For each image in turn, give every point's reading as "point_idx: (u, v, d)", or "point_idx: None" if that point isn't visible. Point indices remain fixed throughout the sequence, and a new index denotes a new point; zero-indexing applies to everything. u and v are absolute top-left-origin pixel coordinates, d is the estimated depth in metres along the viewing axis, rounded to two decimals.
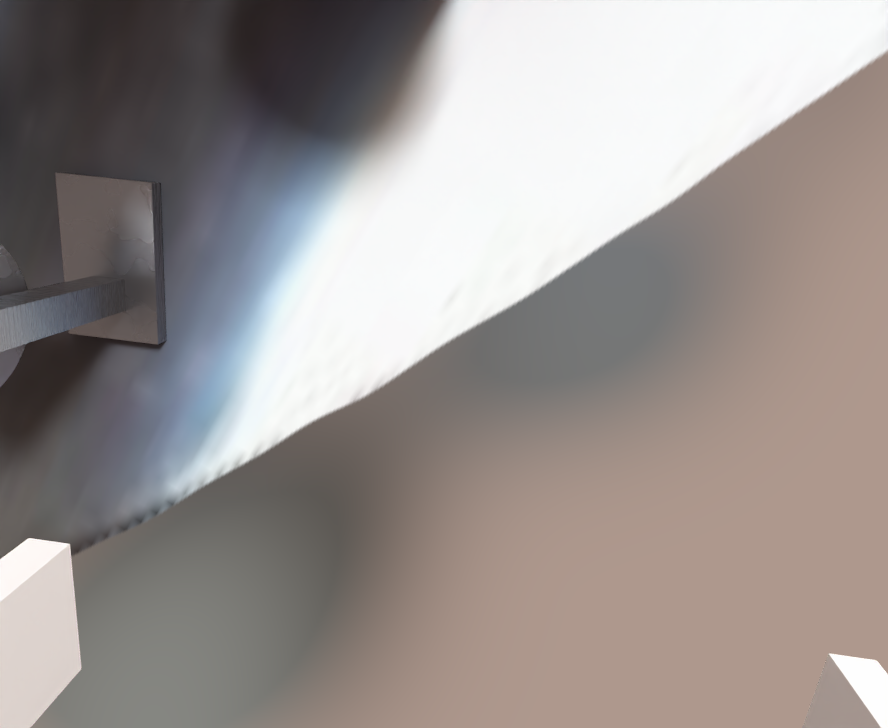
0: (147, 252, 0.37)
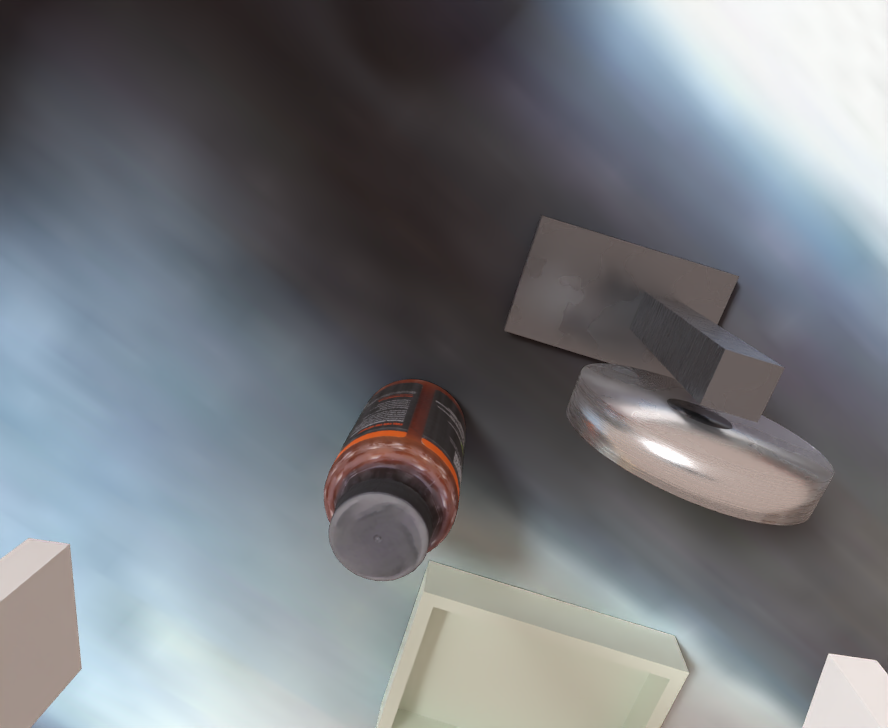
0: (620, 249, 0.29)
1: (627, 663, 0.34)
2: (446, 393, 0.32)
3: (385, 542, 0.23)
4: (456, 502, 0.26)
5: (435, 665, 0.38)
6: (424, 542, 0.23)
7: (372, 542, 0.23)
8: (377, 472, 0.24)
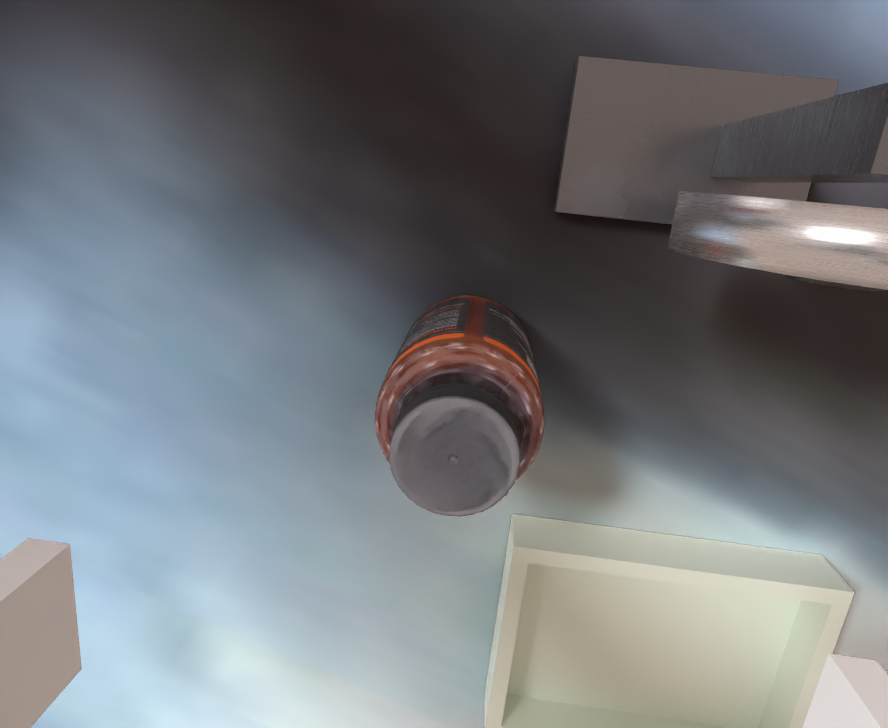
0: (683, 78, 0.24)
1: (775, 593, 0.28)
2: (499, 304, 0.27)
3: (463, 461, 0.18)
4: (542, 407, 0.20)
5: (541, 637, 0.32)
6: (514, 453, 0.18)
7: (447, 465, 0.18)
8: (437, 380, 0.19)
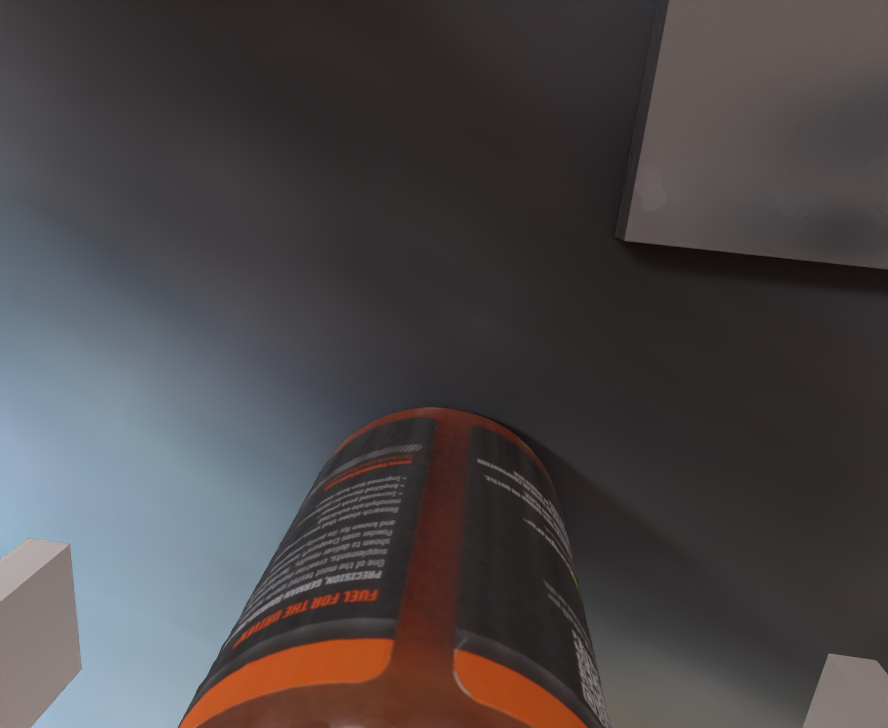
0: None
1: None
2: (499, 429, 0.13)
3: None
4: None
5: None
6: None
7: None
8: None
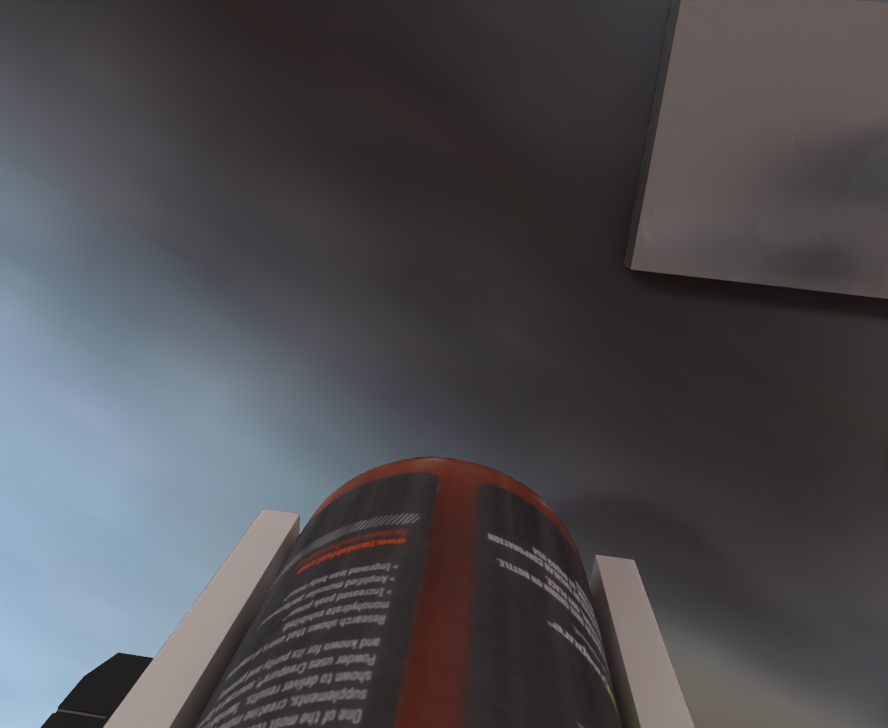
0: (882, 26, 0.12)
1: None
2: (513, 486, 0.11)
3: None
4: None
5: None
6: None
7: None
8: None
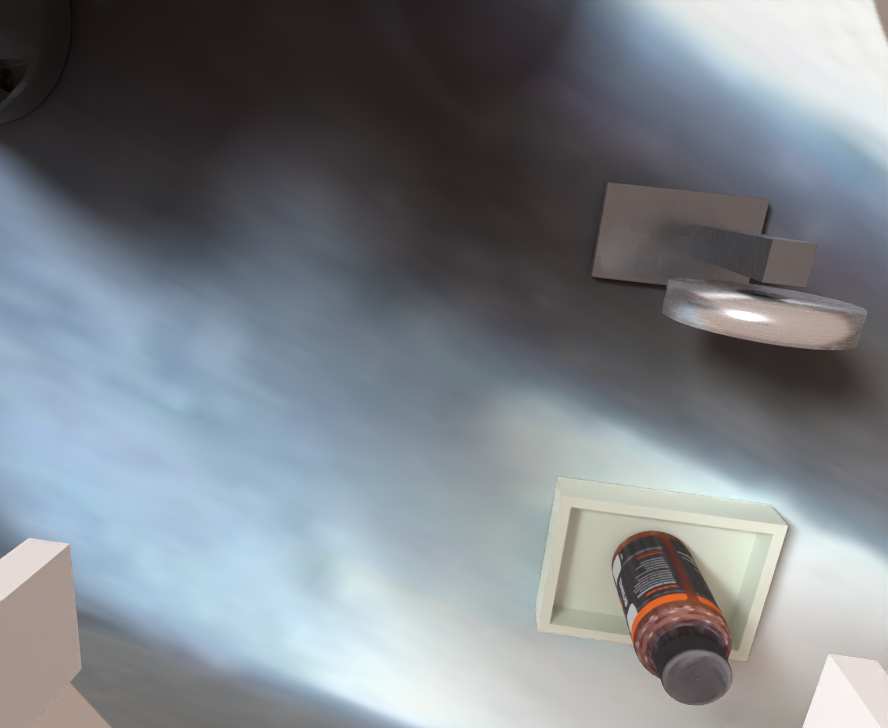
0: (673, 196, 0.38)
1: (735, 526, 0.42)
2: (675, 538, 0.44)
3: (702, 680, 0.35)
4: (731, 638, 0.37)
5: (576, 563, 0.46)
6: (730, 677, 0.34)
7: (693, 681, 0.35)
8: (681, 630, 0.36)
